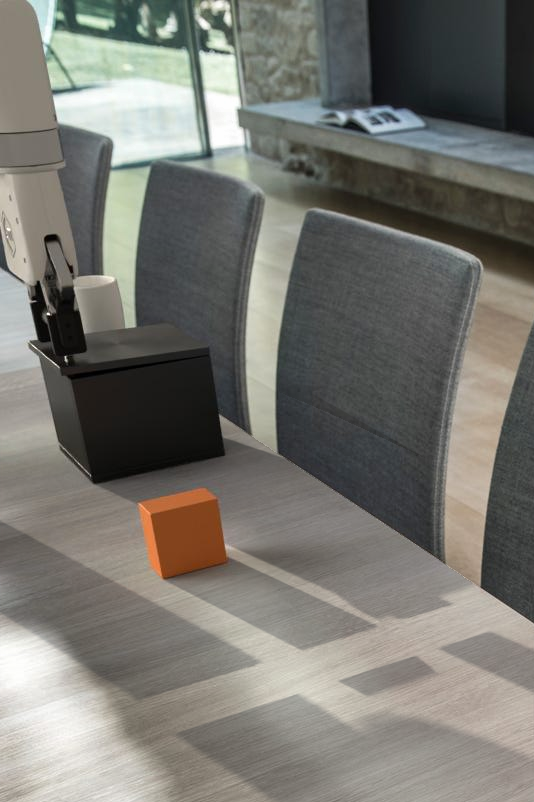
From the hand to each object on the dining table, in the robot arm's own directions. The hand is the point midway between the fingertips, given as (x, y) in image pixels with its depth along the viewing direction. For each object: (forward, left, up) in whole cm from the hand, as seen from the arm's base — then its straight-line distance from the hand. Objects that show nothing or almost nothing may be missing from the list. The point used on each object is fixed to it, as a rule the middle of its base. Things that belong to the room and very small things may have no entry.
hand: (62, 345), depth 118 cm
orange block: (0, -31, -13) cm, 33 cm away
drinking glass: (+8, +17, -13) cm, 23 cm away
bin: (+6, 0, -13) cm, 14 cm away
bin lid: (+6, 0, -2) cm, 6 cm away
